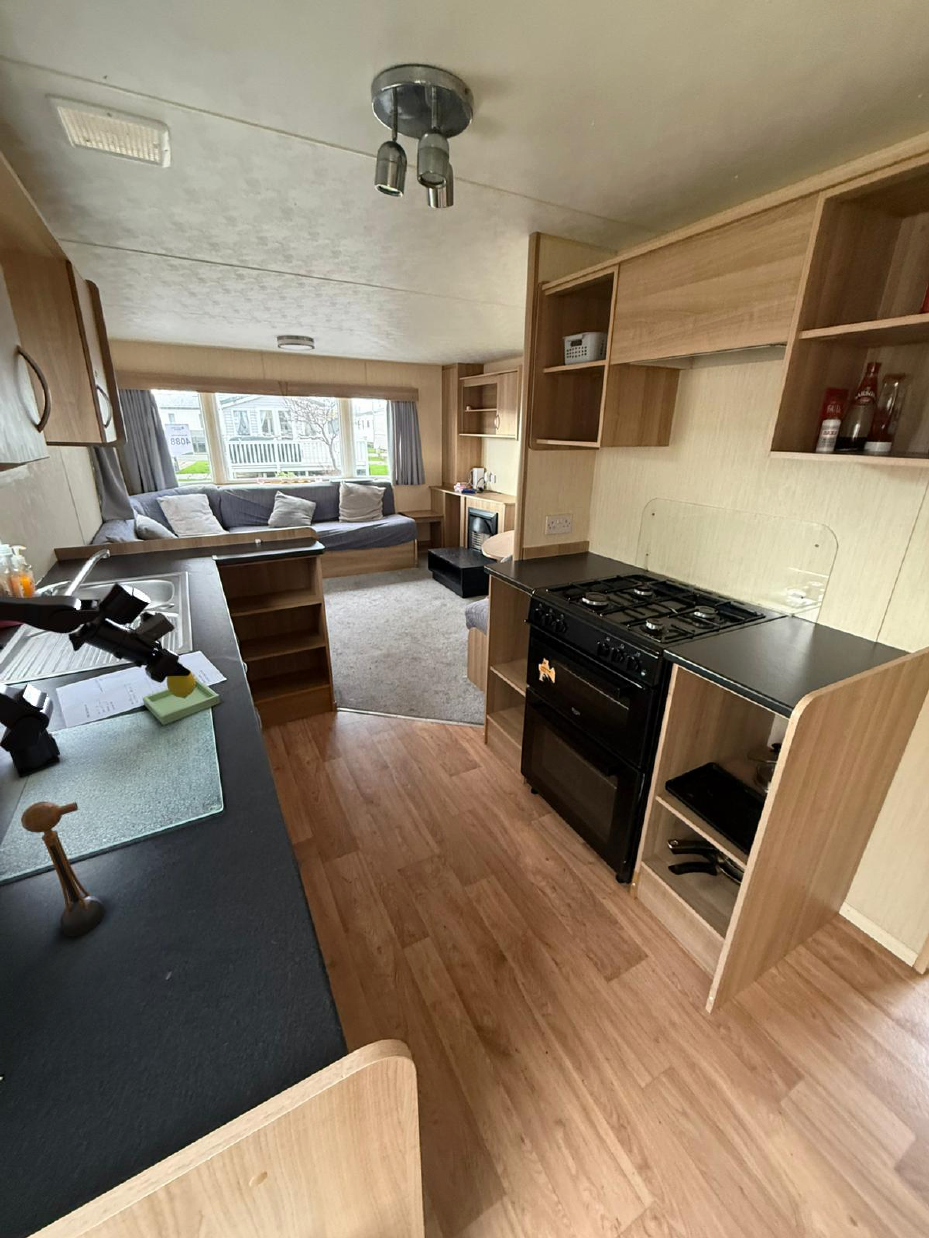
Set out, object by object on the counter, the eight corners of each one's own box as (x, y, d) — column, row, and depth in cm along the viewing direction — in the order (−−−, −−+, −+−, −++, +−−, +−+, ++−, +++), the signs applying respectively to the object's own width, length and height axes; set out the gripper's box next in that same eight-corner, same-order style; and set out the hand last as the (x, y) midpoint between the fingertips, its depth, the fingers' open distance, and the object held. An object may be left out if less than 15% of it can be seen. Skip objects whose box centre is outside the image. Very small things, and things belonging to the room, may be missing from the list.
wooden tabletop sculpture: (114, 894, 72) (73, 783, 65) (114, 919, 68) (70, 804, 61) (64, 914, 69) (14, 800, 62) (60, 942, 66) (7, 824, 58)
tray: (163, 725, 112) (161, 717, 111) (144, 705, 120) (142, 697, 119) (220, 702, 120) (218, 695, 120) (199, 685, 128) (197, 678, 127)
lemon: (195, 689, 117) (188, 658, 114) (200, 699, 113) (194, 667, 110) (168, 696, 114) (161, 665, 111) (173, 707, 110) (165, 674, 107)
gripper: (157, 617, 96) (225, 651, 108) (127, 595, 108) (190, 628, 120) (120, 667, 94) (193, 697, 105) (93, 639, 105) (161, 669, 117)
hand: (185, 670), depth 112 cm, fingers closed on lemon, 4 cm apart
